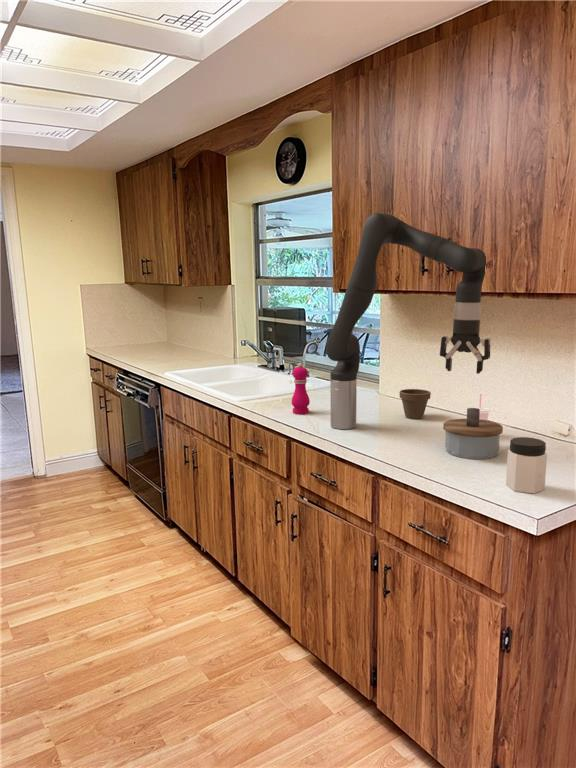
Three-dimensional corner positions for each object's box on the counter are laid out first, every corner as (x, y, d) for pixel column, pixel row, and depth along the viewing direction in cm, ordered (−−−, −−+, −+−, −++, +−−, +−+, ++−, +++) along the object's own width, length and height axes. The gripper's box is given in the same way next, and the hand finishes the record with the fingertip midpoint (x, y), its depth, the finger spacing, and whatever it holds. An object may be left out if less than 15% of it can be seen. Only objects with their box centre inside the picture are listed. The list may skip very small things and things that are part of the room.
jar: (529, 496, 136) (532, 448, 134) (500, 486, 143) (502, 440, 141) (550, 488, 141) (553, 442, 139) (520, 479, 148) (523, 434, 146)
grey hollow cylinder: (440, 444, 179) (441, 423, 178) (488, 444, 179) (489, 422, 178) (453, 459, 164) (454, 436, 163) (505, 459, 164) (506, 435, 163)
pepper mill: (299, 415, 220) (298, 364, 217) (288, 412, 226) (287, 362, 222) (313, 412, 224) (313, 363, 221) (302, 409, 230) (301, 361, 227)
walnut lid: (436, 422, 179) (437, 403, 178) (490, 421, 179) (491, 402, 178) (452, 437, 162) (453, 416, 161) (511, 436, 162) (513, 415, 161)
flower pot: (417, 412, 222) (418, 387, 221) (436, 418, 212) (437, 392, 210) (392, 415, 218) (393, 390, 216) (410, 422, 208) (411, 395, 206)
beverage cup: (489, 438, 186) (492, 396, 183) (470, 437, 187) (472, 395, 184) (486, 433, 192) (488, 392, 189) (468, 432, 193) (469, 392, 190)
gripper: (494, 317, 166) (490, 372, 169) (446, 315, 173) (443, 368, 176) (489, 319, 160) (485, 376, 163) (439, 317, 167) (436, 371, 170)
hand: (463, 372), depth 170 cm, fingers open, 8 cm apart
